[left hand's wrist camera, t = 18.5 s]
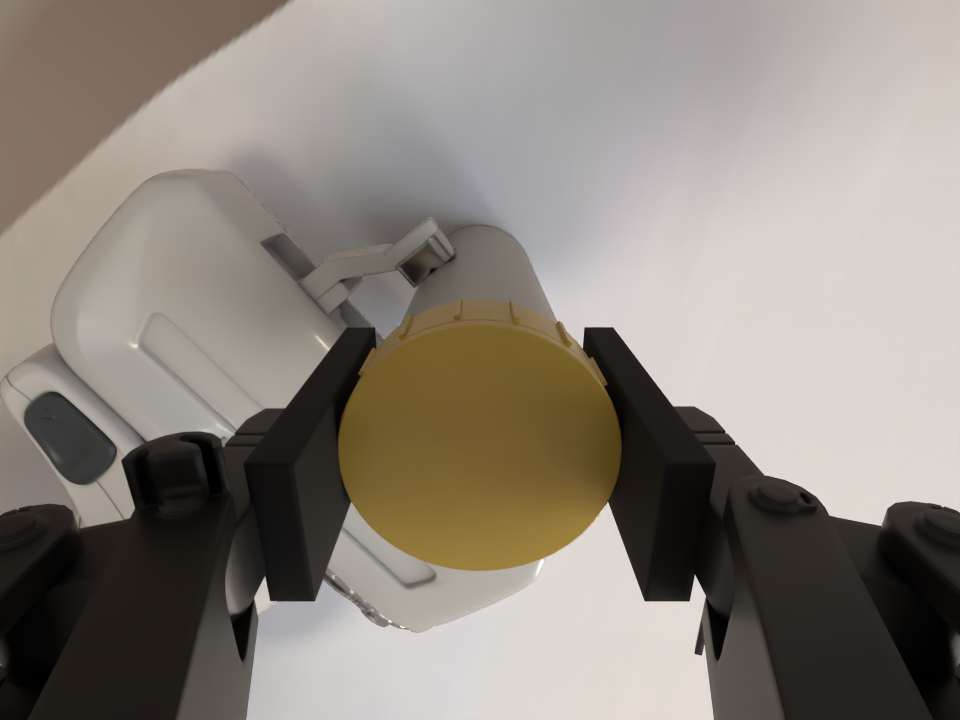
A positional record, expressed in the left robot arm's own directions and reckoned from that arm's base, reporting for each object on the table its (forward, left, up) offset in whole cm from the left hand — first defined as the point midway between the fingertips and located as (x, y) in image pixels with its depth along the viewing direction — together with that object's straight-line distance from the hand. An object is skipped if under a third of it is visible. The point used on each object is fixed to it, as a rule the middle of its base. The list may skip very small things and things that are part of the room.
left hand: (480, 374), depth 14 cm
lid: (0, 0, +4) cm, 4 cm away
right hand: (-1, 0, -5) cm, 5 cm away
